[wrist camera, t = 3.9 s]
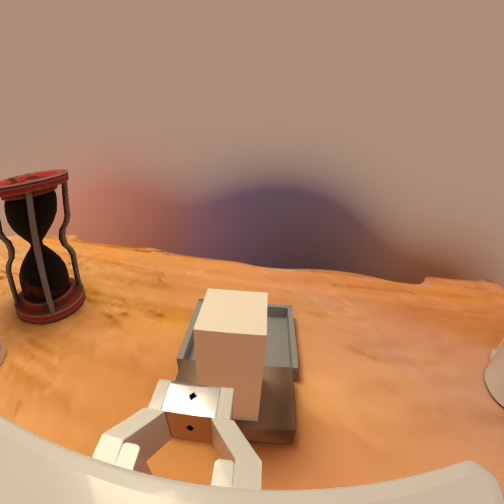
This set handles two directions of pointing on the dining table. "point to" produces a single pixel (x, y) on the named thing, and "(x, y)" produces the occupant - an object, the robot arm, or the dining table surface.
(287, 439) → the brown flat block
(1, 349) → the small box
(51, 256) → the hourglass
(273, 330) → the gray tray
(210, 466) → the dining table surface
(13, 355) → the dining table surface
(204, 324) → the cream block
